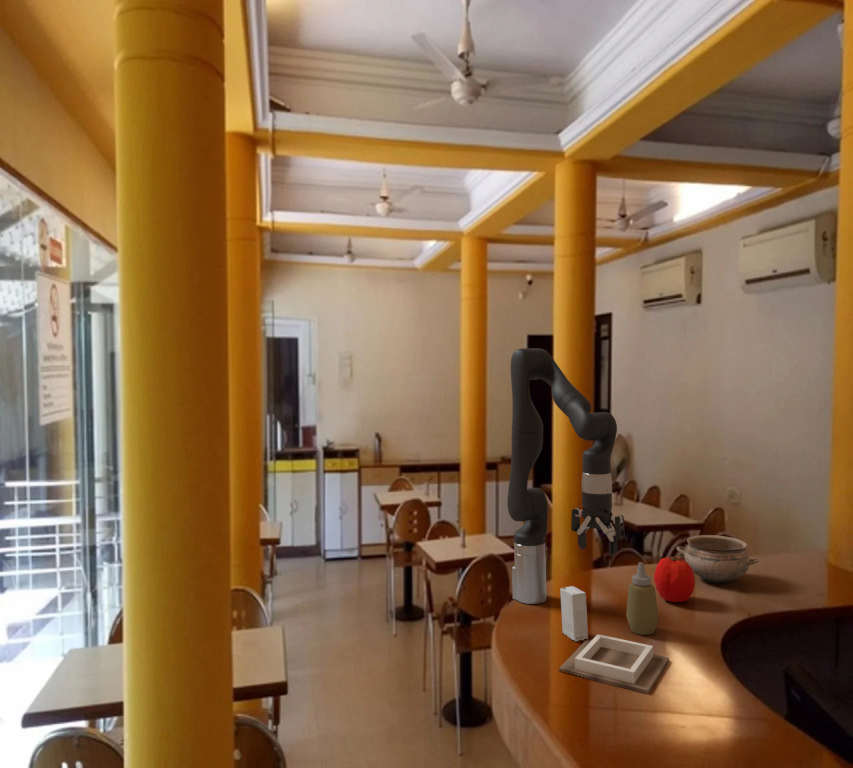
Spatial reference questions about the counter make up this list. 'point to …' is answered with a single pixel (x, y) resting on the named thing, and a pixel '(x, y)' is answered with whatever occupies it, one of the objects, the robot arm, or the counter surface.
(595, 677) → the board
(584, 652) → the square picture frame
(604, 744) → the counter surface
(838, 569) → the counter surface
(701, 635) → the counter surface
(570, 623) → the skincare box
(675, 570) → the tomato
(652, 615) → the squeeze bottle
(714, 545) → the cooking pot
